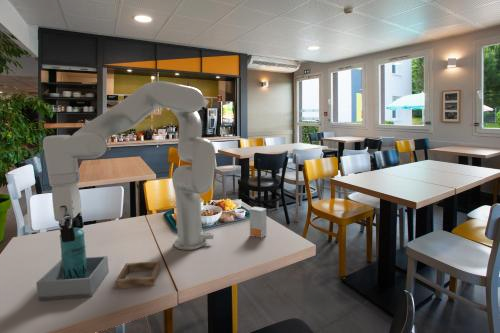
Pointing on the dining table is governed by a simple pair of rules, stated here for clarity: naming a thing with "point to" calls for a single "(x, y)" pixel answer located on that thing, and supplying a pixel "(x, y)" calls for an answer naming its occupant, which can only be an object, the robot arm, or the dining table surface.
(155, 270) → the collar
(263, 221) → the skincare box
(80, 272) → the beverage bottle
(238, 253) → the dining table surface
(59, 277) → the bin
